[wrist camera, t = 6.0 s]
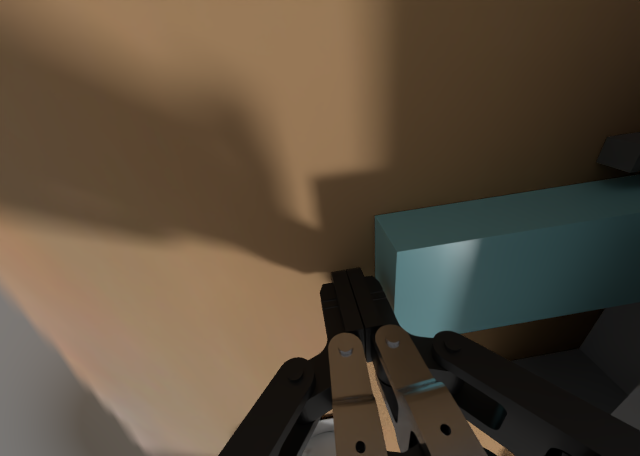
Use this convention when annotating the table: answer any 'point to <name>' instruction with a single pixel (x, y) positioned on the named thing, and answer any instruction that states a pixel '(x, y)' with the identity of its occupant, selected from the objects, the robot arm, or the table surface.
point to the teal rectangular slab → (511, 257)
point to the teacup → (322, 440)
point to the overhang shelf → (603, 334)
